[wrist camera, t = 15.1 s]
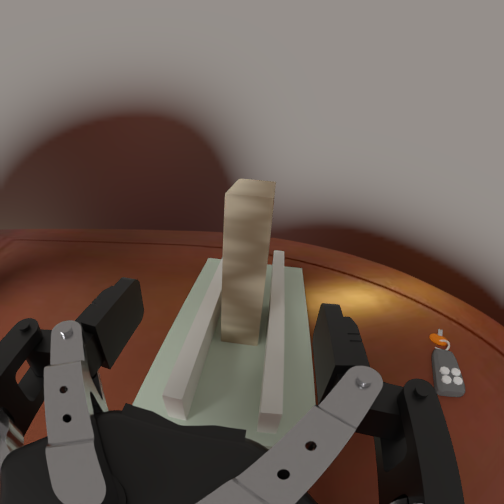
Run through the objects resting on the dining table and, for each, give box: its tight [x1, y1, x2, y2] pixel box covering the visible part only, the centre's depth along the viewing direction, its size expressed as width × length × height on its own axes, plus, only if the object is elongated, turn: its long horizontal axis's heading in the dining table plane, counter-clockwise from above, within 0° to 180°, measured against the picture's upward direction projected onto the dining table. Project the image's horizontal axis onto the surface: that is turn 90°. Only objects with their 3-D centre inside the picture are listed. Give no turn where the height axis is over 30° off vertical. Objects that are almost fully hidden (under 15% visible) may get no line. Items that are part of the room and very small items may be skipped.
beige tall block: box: [221, 179, 276, 346], centre depth 22 cm, size 3×6×12 cm, turn 174°
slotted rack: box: [133, 250, 316, 449], centre depth 24 cm, size 24×12×4 cm, turn 174°
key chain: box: [429, 329, 465, 397], centre depth 22 cm, size 13×4×2 cm, turn 159°
